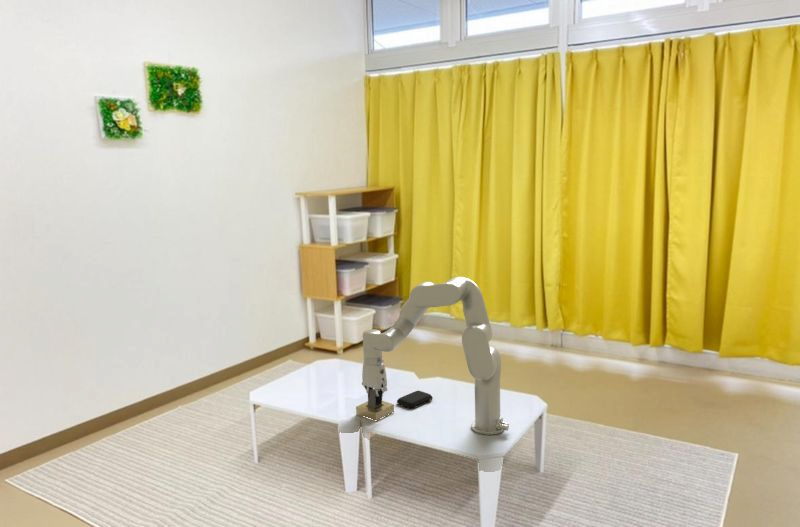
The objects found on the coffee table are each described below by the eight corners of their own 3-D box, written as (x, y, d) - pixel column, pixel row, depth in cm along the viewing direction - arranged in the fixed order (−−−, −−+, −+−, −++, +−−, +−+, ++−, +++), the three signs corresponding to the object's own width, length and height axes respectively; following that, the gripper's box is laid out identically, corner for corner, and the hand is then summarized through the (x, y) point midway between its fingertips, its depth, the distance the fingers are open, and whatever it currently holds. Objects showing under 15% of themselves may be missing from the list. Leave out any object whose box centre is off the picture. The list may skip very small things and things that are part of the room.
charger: (380, 410, 228) (383, 389, 228) (374, 411, 225) (376, 390, 225) (373, 407, 230) (376, 387, 231) (367, 408, 227) (369, 388, 228)
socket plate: (394, 412, 229) (393, 404, 229) (375, 421, 221) (375, 413, 220) (374, 406, 236) (374, 398, 236) (356, 414, 228) (356, 406, 227)
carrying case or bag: (413, 411, 230) (436, 401, 240) (412, 404, 229) (436, 394, 240) (394, 405, 237) (418, 395, 248) (394, 398, 237) (418, 388, 247)
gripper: (394, 361, 223) (396, 404, 225) (365, 354, 233) (367, 395, 236) (381, 366, 217) (383, 411, 220) (352, 358, 228) (354, 401, 230)
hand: (375, 402), depth 228 cm, fingers closed on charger, 3 cm apart
